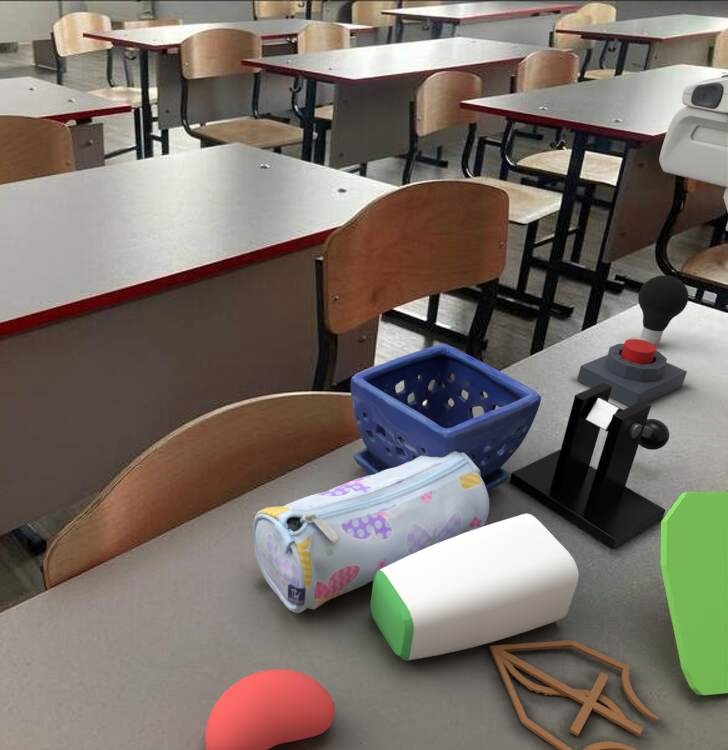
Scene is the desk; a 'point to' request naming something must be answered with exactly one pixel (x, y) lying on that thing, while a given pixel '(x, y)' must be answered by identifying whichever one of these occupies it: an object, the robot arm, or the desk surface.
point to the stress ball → (269, 711)
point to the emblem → (569, 692)
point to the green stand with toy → (698, 586)
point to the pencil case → (366, 527)
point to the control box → (632, 376)
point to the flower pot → (440, 412)
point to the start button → (638, 351)
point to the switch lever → (652, 434)
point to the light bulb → (660, 305)
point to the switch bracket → (594, 474)
